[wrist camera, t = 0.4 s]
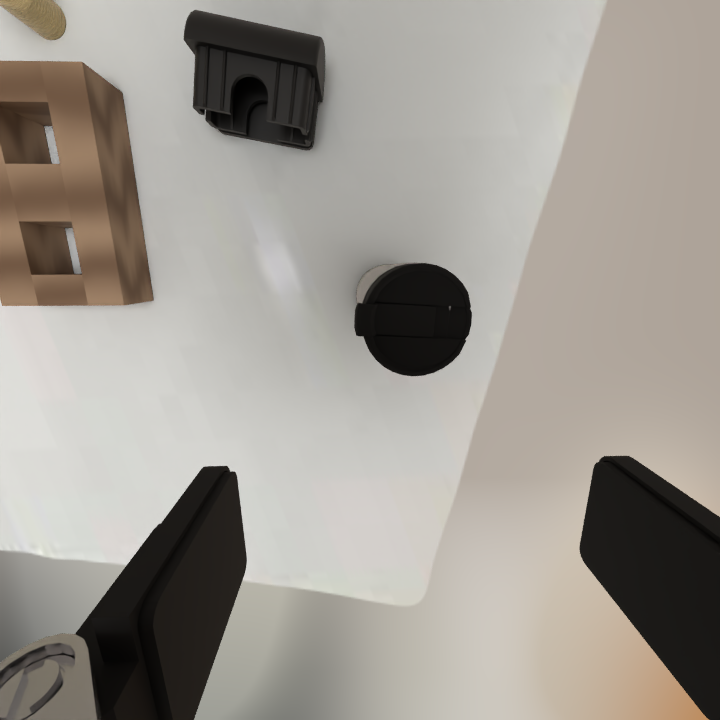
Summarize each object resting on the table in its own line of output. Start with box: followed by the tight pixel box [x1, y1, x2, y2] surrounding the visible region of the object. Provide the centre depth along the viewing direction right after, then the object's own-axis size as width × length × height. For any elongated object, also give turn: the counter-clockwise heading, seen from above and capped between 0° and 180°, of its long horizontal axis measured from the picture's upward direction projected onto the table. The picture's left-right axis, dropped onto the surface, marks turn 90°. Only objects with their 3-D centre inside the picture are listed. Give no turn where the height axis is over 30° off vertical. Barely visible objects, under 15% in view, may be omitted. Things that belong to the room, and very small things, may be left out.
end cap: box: [184, 10, 325, 150], centre depth 30 cm, size 10×7×7 cm
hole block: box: [0, 61, 153, 306], centre depth 32 cm, size 19×11×5 cm, turn 0°
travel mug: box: [354, 263, 472, 376], centre depth 28 cm, size 6×7×20 cm
